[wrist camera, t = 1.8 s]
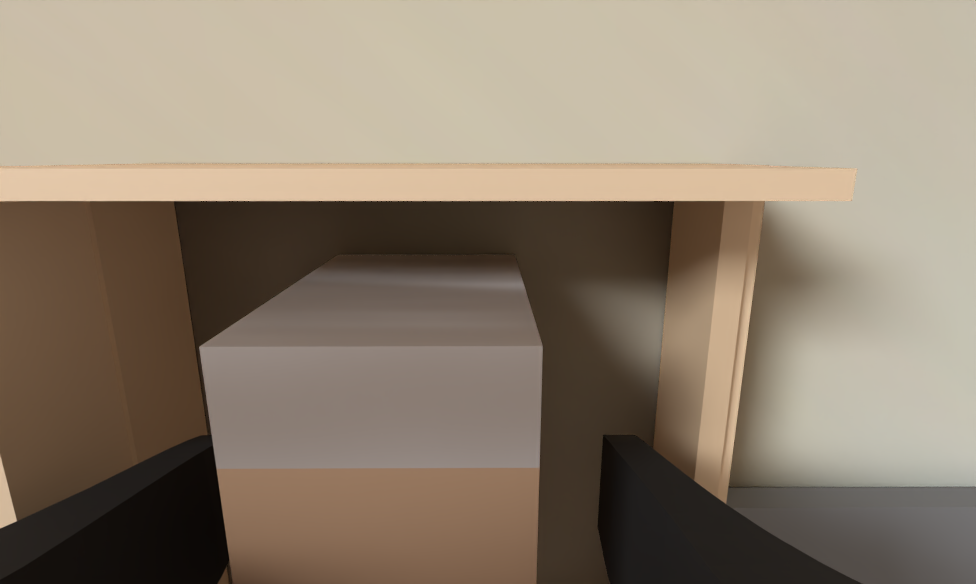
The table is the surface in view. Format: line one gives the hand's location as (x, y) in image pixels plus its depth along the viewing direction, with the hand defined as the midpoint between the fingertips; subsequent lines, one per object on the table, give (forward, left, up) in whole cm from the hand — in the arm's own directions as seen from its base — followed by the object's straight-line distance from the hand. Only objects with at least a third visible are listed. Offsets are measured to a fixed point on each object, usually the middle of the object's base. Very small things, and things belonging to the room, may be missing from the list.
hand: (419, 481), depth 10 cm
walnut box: (0, 0, -3) cm, 3 cm away
